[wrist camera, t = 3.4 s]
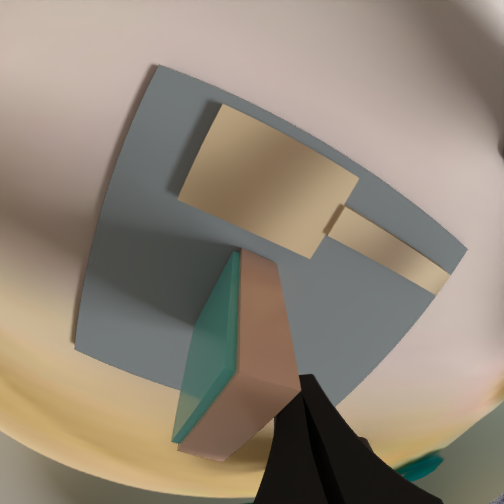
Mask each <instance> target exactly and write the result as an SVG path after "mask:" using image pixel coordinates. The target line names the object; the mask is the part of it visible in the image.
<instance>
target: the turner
mask: <svg viewBox="0 0 504 504" xmlns="http://www.w3.org/2000/svg"><path fill="white" fill-rule="evenodd" d="M358 180H359V178H358V177H357V176H355V175H354V174H352V173H350V172H349V171H347V170H346V169H344V168H343V167H341V166H339V165H338V164H336V163H334V162H333V161H331V160H329V159H328V158H326V157H324V156H323V155H321V154H319V153H318V152H316V151H314V150H312V149H311V148H309V147H307V146H305V145H304V144H302V143H300V142H298V141H296V140H295V139H293V138H291V137H289V136H287V135H285V134H283V133H282V132H280V131H278V130H276V129H274V128H272V127H270V126H268V125H266V124H264V123H262V122H260V121H258V120H256V119H254V118H252V117H250V116H248V115H246V114H244V113H242V112H240V111H238V110H235V109H233V108H231V107H229V106H227V105H225V104H222V106H221V108H220V110H219V112H218V114H217V116H216V118H215V120H214V122H213V124H212V126H211V128H210V130H209V132H208V134H207V136H206V138H205V140H204V142H203V144H202V146H201V148H200V150H199V152H198V154H197V156H196V159H195V161H194V163H193V165H192V167H191V169H190V172H189V174H188V176H187V178H186V180H185V183H184V185H183V187H182V189H181V192H180V194H179V196H178V199H177V200H179V201H181V202H184V203H186V204H188V205H190V206H193V207H195V208H197V209H200V210H202V211H204V212H206V213H209V214H211V215H213V216H215V217H218V218H220V219H222V220H225V221H227V222H229V223H231V224H234V225H236V226H238V227H240V228H242V229H245V230H247V231H249V232H251V233H254V234H256V235H258V236H260V237H262V238H265V239H267V240H269V241H271V242H274V243H276V244H278V245H280V246H282V247H285V248H287V249H289V250H291V251H293V252H296V253H298V254H300V255H302V256H304V257H306V258H309V259H310V258H311V257H312V255H313V254H314V252H315V251H316V249H317V247H318V246H319V244H320V243H321V241H322V240H323V238H324V236H325V235H326V234H327V236H329V237H331V238H333V239H335V240H337V241H339V242H340V243H342V244H344V245H346V246H348V247H350V248H352V249H354V250H356V251H358V252H359V253H361V254H363V255H365V256H367V257H369V258H371V259H372V260H374V261H376V262H378V263H380V264H382V265H383V266H385V267H387V268H389V269H391V270H392V271H394V272H396V273H398V274H400V275H401V276H403V277H405V278H407V279H408V280H410V281H412V282H414V283H416V284H417V285H419V286H421V287H422V288H424V289H426V290H428V291H429V292H431V293H433V294H435V295H437V294H438V293H439V291H440V290H441V289H442V287H443V286H444V284H445V283H446V281H447V280H448V279H449V277H450V276H451V275H450V274H449V273H448V272H447V271H446V270H445V269H443V268H442V267H441V266H439V265H438V264H436V263H435V262H434V261H432V260H431V259H429V258H428V257H426V256H425V255H424V254H422V253H421V252H419V251H418V250H416V249H415V248H413V247H412V246H410V245H409V244H407V243H406V242H404V241H403V240H401V239H400V238H398V237H397V236H395V235H393V234H392V233H390V232H389V231H387V230H386V229H384V228H382V227H381V226H379V225H378V224H376V223H374V222H373V221H371V220H370V219H368V218H366V217H365V216H363V215H361V214H360V213H358V212H356V211H355V210H353V209H351V208H350V207H348V206H346V205H345V202H346V200H347V199H348V197H349V195H350V194H351V192H352V190H353V189H354V187H355V185H356V184H357V182H358Z"/></svg>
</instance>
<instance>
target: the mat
mask: <svg viewBox="0 0 504 504" xmlns="http://www.w3.org/2000/svg"><path fill="white" fill-rule="evenodd" d="M222 104H225V105H227V106H229V107H231V108H233V109H235V110H238V111H240V112H242V113H244V114H246V115H248V116H250V117H252V118H254V119H256V120H258V121H260V122H262V123H264V124H266V125H268V126H270V127H272V128H274V129H276V130H278V131H280V132H282V133H283V134H285V135H287V136H289V137H291V138H293V139H295V140H296V141H298V142H300V143H302V144H304V145H305V146H307V147H309V148H311V149H312V150H314V151H316V152H318V153H319V154H321V155H323V156H324V157H326V158H328V159H329V160H331V161H333V162H334V163H336V164H338V165H339V166H341V167H343V168H344V169H346V170H347V171H349V172H350V173H352V174H354V175H355V176H357V177H358V178H359V180H358V182H357V184H356V185H355V187H354V189H353V190H352V192H351V194H350V195H349V197H348V199H347V200H346V202H345V205H346V206H348V207H350V208H351V209H353V210H355V211H356V212H358V213H360V214H361V215H363V216H365V217H366V218H368V219H370V220H371V221H373V222H374V223H376V224H378V225H379V226H381V227H382V228H384V229H386V230H387V231H389V232H390V233H392V234H393V235H395V236H397V237H398V238H400V239H401V240H403V241H404V242H406V243H407V244H409V245H410V246H412V247H413V248H415V249H416V250H418V251H419V252H421V253H422V254H424V255H425V256H426V257H428V258H429V259H431V260H432V261H434V262H435V263H436V264H438V265H439V266H441V267H442V268H443V269H445V270H446V271H447V272H448V273H449V274H450V275H451V274H452V273H453V271H454V270H455V268H456V267H457V265H458V264H459V262H460V261H461V259H462V257H463V256H464V254H465V253H466V251H467V250H468V249H467V248H466V247H465V246H464V245H463V244H461V243H460V242H459V241H458V240H457V239H456V238H455V237H454V236H452V235H451V234H450V233H449V232H448V231H447V230H445V229H444V228H443V227H442V226H441V225H440V224H438V223H437V222H436V221H435V220H433V219H432V218H431V217H430V216H429V215H427V214H426V213H425V212H424V211H422V210H421V209H420V208H418V207H417V206H416V205H415V204H413V203H412V202H411V201H409V200H408V199H407V198H405V197H404V196H403V195H401V194H400V193H399V192H397V191H396V190H395V189H393V188H392V187H391V186H389V185H388V184H386V183H385V182H384V181H382V180H381V179H379V178H378V177H376V176H375V175H373V174H372V173H371V172H369V171H368V170H366V169H365V168H363V167H362V166H360V165H359V164H357V163H356V162H354V161H353V160H351V159H349V158H348V157H346V156H345V155H343V154H342V153H340V152H338V151H337V150H335V149H334V148H332V147H330V146H329V145H327V144H325V143H324V142H322V141H320V140H319V139H317V138H315V137H313V136H312V135H310V134H308V133H307V132H305V131H303V130H301V129H299V128H298V127H296V126H294V125H292V124H290V123H289V122H287V121H285V120H283V119H281V118H279V117H277V116H275V115H274V114H272V113H270V112H268V111H266V110H264V109H262V108H260V107H258V106H256V105H254V104H252V103H250V102H247V101H245V100H243V99H241V98H239V97H237V96H235V95H233V94H230V93H228V92H226V91H224V90H221V89H219V88H217V87H215V86H212V85H210V84H208V83H205V82H203V81H200V80H198V79H195V78H193V77H190V76H188V75H185V74H183V73H180V72H177V71H175V70H172V69H169V68H167V67H164V66H161V65H159V66H158V68H157V70H156V72H155V74H154V76H153V78H152V80H151V82H150V84H149V86H148V88H147V90H146V92H145V94H144V97H143V99H142V101H141V103H140V105H139V108H138V110H137V112H136V114H135V117H134V119H133V121H132V124H131V126H130V129H129V131H128V134H127V136H126V139H125V141H124V144H123V146H122V149H121V152H120V154H119V157H118V160H117V163H116V165H115V168H114V171H113V174H112V177H111V180H110V183H109V186H108V189H107V193H106V196H105V199H104V202H103V206H102V209H101V213H100V216H99V220H98V224H97V227H96V231H95V235H94V239H93V243H92V247H91V252H90V256H89V260H88V265H87V270H86V275H85V280H84V285H83V291H82V297H81V303H80V309H79V316H78V323H77V331H76V339H75V350H77V351H79V352H81V353H83V354H86V355H88V356H90V357H92V358H95V359H97V360H99V361H101V362H104V363H106V364H109V365H111V366H113V367H116V368H118V369H121V370H123V371H126V372H129V373H131V374H134V375H137V376H139V377H142V378H145V379H148V380H150V381H153V382H156V383H159V384H162V385H165V386H168V387H171V388H174V389H178V390H181V386H182V380H183V375H184V370H185V366H186V361H187V356H188V351H189V346H190V342H191V337H192V332H193V328H194V325H195V323H196V321H197V319H198V317H199V315H200V313H201V311H202V309H203V308H204V306H205V304H206V302H207V300H208V298H209V296H210V294H211V292H212V290H213V288H214V286H215V285H216V283H217V281H218V279H219V277H220V275H221V273H222V271H223V269H224V268H225V266H226V264H227V262H228V260H229V258H230V256H231V254H232V252H233V251H235V252H238V253H239V252H240V250H241V249H242V248H244V249H246V250H248V251H250V252H253V253H255V254H257V255H259V256H261V257H263V258H266V259H268V260H270V261H272V262H274V263H277V267H278V272H279V277H280V282H281V287H282V292H283V297H284V302H285V307H286V312H287V317H288V322H289V327H290V332H291V338H292V343H293V348H294V353H295V359H296V364H297V370H298V375H304V374H313V375H314V376H315V377H316V379H317V381H318V383H319V384H320V386H321V388H322V389H323V391H324V392H325V394H326V395H327V397H328V398H329V400H330V401H331V403H332V404H333V406H334V407H335V406H337V405H338V404H339V403H340V402H341V401H342V400H343V399H344V398H345V397H346V396H347V395H348V394H349V393H351V392H352V391H353V390H354V389H355V388H356V387H357V386H358V385H359V384H360V383H361V382H362V381H363V380H364V379H365V378H366V377H367V376H368V375H369V374H370V373H371V372H372V371H373V370H374V369H375V368H376V367H377V366H378V364H379V363H380V362H381V361H382V360H383V359H384V358H385V357H386V356H387V355H388V354H389V353H390V352H391V350H392V349H393V348H394V347H395V346H396V345H397V344H398V342H399V341H400V340H401V339H402V338H403V337H404V336H405V334H406V333H407V332H408V331H409V330H410V328H411V327H412V326H413V325H414V324H415V322H416V321H417V320H418V319H419V317H420V316H421V315H422V314H423V312H424V311H425V310H426V308H427V307H428V306H429V305H430V303H431V302H432V301H433V299H434V298H435V297H436V295H435V294H433V293H431V292H429V291H428V290H426V289H424V288H422V287H421V286H419V285H417V284H416V283H414V282H412V281H410V280H408V279H407V278H405V277H403V276H401V275H400V274H398V273H396V272H394V271H392V270H391V269H389V268H387V267H385V266H383V265H382V264H380V263H378V262H376V261H374V260H372V259H371V258H369V257H367V256H365V255H363V254H361V253H359V252H358V251H356V250H354V249H352V248H350V247H348V246H346V245H344V244H342V243H340V242H339V241H337V240H335V239H333V238H331V237H329V236H327V234H326V235H325V236H324V238H323V240H322V241H321V243H320V244H319V246H318V247H317V249H316V251H315V252H314V254H313V255H312V257H311V258H310V259H309V258H306V257H304V256H302V255H300V254H298V253H296V252H293V251H291V250H289V249H287V248H285V247H282V246H280V245H278V244H276V243H274V242H271V241H269V240H267V239H265V238H262V237H260V236H258V235H256V234H254V233H251V232H249V231H247V230H245V229H242V228H240V227H238V226H236V225H234V224H231V223H229V222H227V221H225V220H222V219H220V218H218V217H215V216H213V215H211V214H209V213H206V212H204V211H202V210H200V209H197V208H195V207H193V206H190V205H188V204H186V203H184V202H181V201H179V200H177V199H178V196H179V194H180V192H181V189H182V187H183V185H184V183H185V180H186V178H187V176H188V174H189V172H190V169H191V167H192V165H193V163H194V161H195V159H196V156H197V154H198V152H199V150H200V148H201V146H202V144H203V142H204V140H205V138H206V136H207V134H208V132H209V130H210V128H211V126H212V124H213V122H214V120H215V118H216V116H217V114H218V112H219V110H220V108H221V106H222Z"/></svg>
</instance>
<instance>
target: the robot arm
mask: <svg viewBox="0 0 504 504" xmlns="http://www.w3.org/2000/svg"><path fill="white" fill-rule="evenodd" d="M299 380H300V386H301V391H300V392H299V393H298V394H297V395H296V396H295V397H294V398H293V399H292V400H291V401H290V402H289V403H288V404H287V405H286V406H285V407H284V408H283V409H282V410H281V411H280V412H279V413H278V414H277V415H276V416H275V417H274V437H273V441H272V446H271V451H270V455H269V458H268V462H267V465H266V469H265V472H264V475H263V478H262V481H261V484H260V487H259V490H258V492H257V495H256V497H255V500H254V502H253V504H443V502H442V500H441V499H439V498H438V497H436V496H434V495H432V494H430V493H428V492H426V491H424V490H423V489H421V488H419V487H418V486H416V485H414V484H413V483H411V482H410V481H408V480H407V479H405V478H404V477H403V476H401V475H400V474H399V473H397V472H396V471H395V470H393V469H392V468H391V467H389V466H388V465H387V464H386V463H385V462H383V461H382V460H381V459H380V458H379V457H378V456H377V455H376V454H375V453H374V452H372V451H371V450H370V449H369V448H368V447H367V446H366V445H365V444H364V442H363V441H362V440H361V439H360V438H359V437H358V436H357V435H356V434H355V432H354V431H353V430H352V429H351V428H350V427H349V425H348V424H347V423H346V422H345V420H344V419H343V418H342V416H341V415H340V414H339V412H338V411H337V410H336V408H335V407H334V406H333V404H332V403H331V401H330V400H329V398H328V397H327V395H326V394H325V392H324V391H323V389H322V388H321V386H320V384H319V383H318V381H317V379H316V377H315V376H314V375H313V374H304V375H299ZM488 504H504V493H502V494H501V495H499V496H498V497H497V498H495V499H494V500H493V501H491V502H490V503H488Z"/></svg>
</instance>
